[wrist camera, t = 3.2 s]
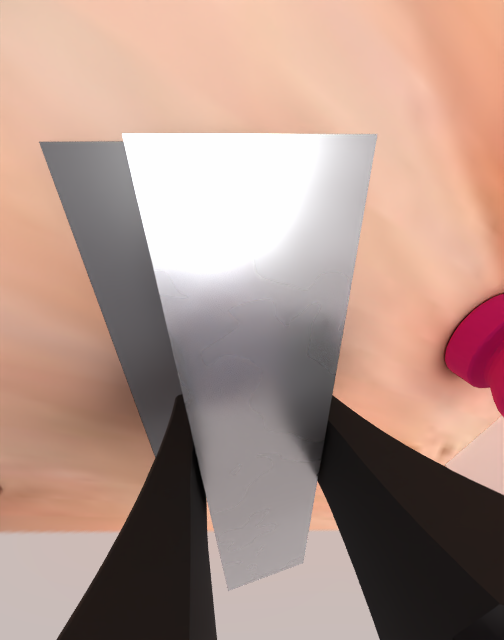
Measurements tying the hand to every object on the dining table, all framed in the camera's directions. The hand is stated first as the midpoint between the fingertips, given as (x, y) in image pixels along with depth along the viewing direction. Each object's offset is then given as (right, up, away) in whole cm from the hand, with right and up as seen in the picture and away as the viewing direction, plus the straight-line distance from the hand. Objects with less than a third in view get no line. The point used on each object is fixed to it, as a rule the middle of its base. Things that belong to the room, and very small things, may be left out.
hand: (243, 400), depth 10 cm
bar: (-1, +1, +2) cm, 2 cm away
